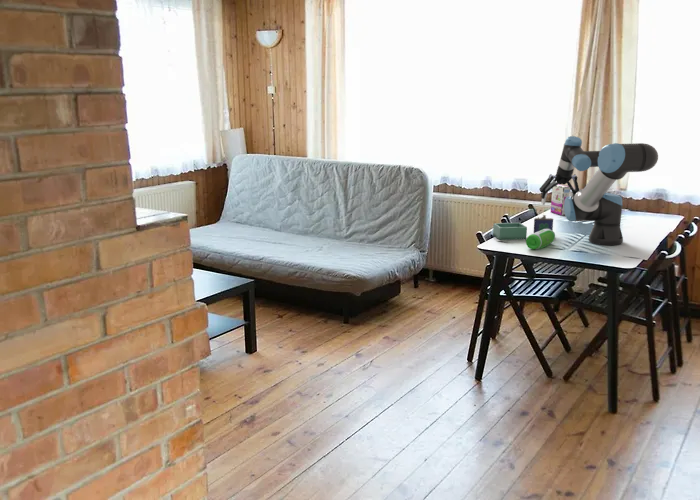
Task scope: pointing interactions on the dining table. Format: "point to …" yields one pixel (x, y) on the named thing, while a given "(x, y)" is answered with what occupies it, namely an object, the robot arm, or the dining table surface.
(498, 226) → the open box
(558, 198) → the candy bar box
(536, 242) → the speaker
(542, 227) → the flask
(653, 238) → the dining table surface
